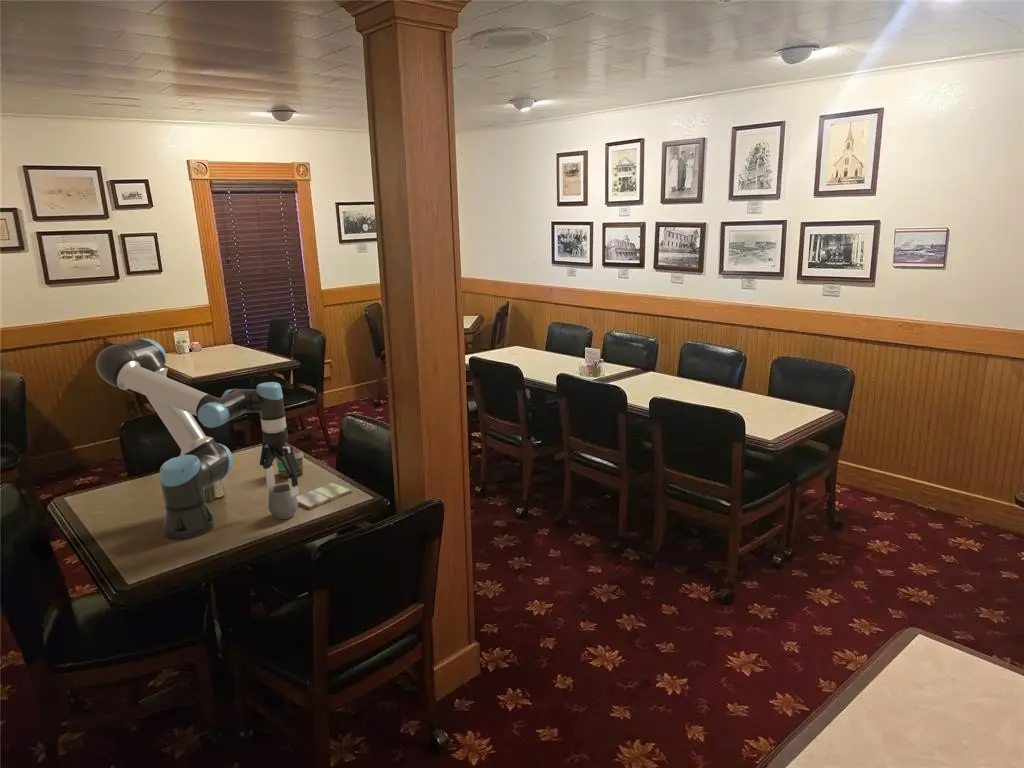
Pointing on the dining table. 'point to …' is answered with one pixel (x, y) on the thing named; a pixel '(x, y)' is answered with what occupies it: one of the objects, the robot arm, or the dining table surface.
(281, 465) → the food container
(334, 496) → the green and white board
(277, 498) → the cup
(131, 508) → the dining table surface
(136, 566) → the dining table surface
